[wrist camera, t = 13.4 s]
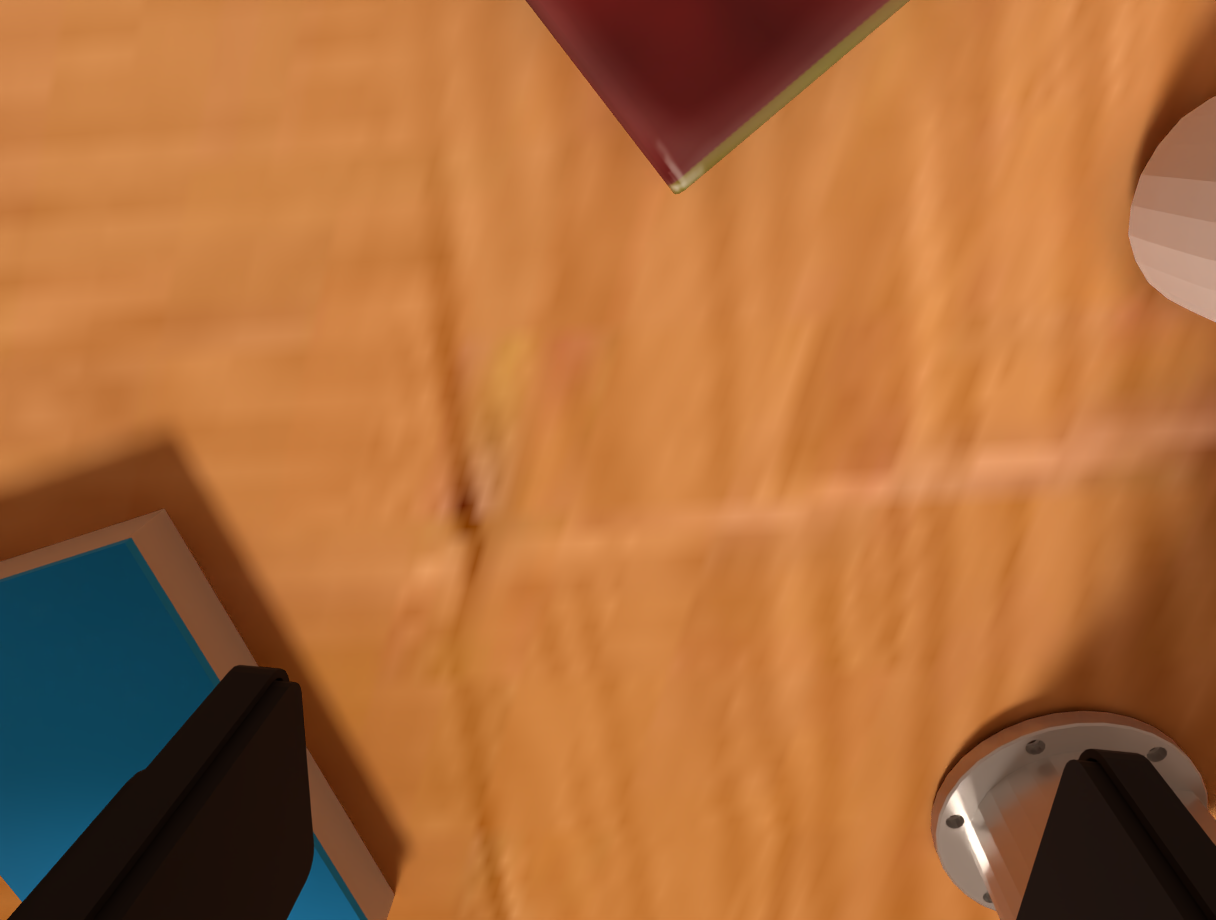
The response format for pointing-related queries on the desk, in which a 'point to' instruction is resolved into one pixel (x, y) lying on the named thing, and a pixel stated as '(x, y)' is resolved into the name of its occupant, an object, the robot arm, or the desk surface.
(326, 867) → the book
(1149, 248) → the cup
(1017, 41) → the desk surface
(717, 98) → the hardcover book
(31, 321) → the desk surface
